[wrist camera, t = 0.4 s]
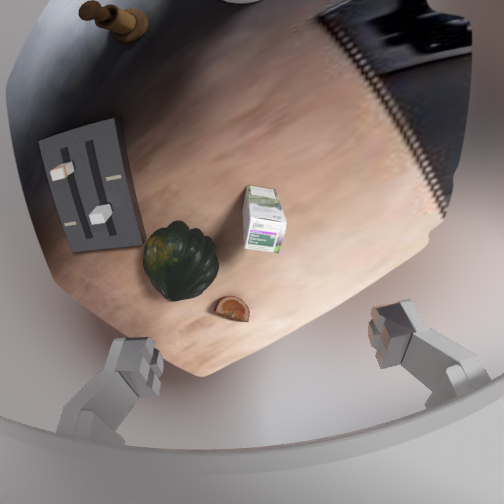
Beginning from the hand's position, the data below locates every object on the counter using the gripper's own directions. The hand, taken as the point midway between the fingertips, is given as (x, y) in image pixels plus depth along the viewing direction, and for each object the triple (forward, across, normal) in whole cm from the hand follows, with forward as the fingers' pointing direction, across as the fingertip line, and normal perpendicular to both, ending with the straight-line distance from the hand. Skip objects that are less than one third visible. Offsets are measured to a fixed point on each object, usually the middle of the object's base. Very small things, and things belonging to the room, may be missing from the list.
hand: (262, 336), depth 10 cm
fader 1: (+43, +34, -1) cm, 55 cm away
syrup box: (+46, -1, +15) cm, 49 cm away
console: (+46, +31, +6) cm, 56 cm away
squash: (+46, +16, +23) cm, 54 cm away
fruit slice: (+46, +9, +40) cm, 62 cm away
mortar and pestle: (+46, +16, -24) cm, 54 cm away
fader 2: (+43, +29, +10) cm, 52 cm away
